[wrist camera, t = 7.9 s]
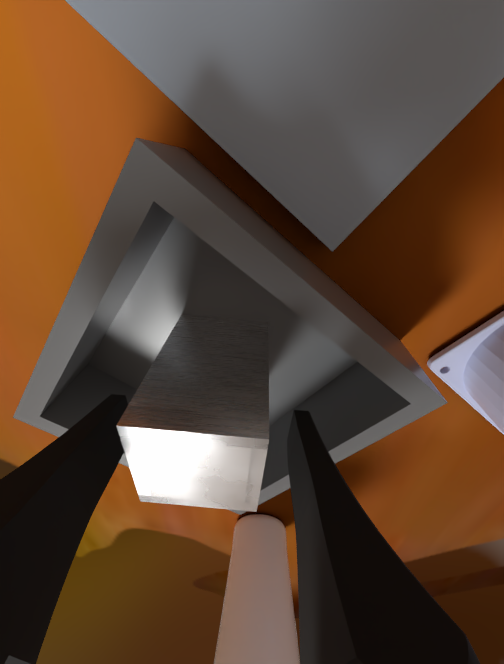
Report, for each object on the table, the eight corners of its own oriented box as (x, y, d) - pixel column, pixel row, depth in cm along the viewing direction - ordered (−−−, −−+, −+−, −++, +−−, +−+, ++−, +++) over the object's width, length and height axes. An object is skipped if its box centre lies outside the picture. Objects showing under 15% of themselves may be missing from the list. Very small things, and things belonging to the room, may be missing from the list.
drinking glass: (215, 522, 28) (171, 818, 15) (256, 500, 25) (245, 845, 12) (263, 542, 30) (259, 817, 17) (306, 524, 27) (340, 840, 14)
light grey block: (268, 321, 14) (269, 439, 8) (260, 385, 16) (256, 512, 10) (181, 314, 14) (116, 425, 8) (187, 379, 16) (140, 501, 10)
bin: (400, 340, 14) (447, 402, 11) (245, 451, 21) (240, 514, 17) (184, 148, 10) (136, 137, 6) (71, 359, 16) (13, 417, 13)
